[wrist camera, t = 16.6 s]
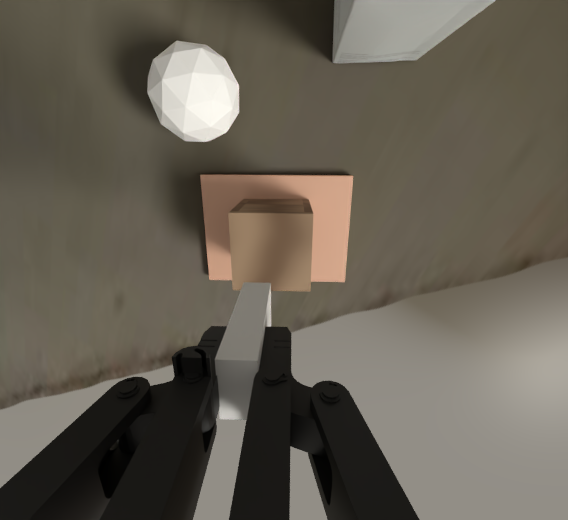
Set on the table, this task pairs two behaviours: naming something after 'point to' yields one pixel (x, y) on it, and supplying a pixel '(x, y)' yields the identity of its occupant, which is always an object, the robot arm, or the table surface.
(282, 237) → the cardboard carton
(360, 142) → the table surface
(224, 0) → the table surface
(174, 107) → the ball
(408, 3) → the skincare box
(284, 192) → the base plate
